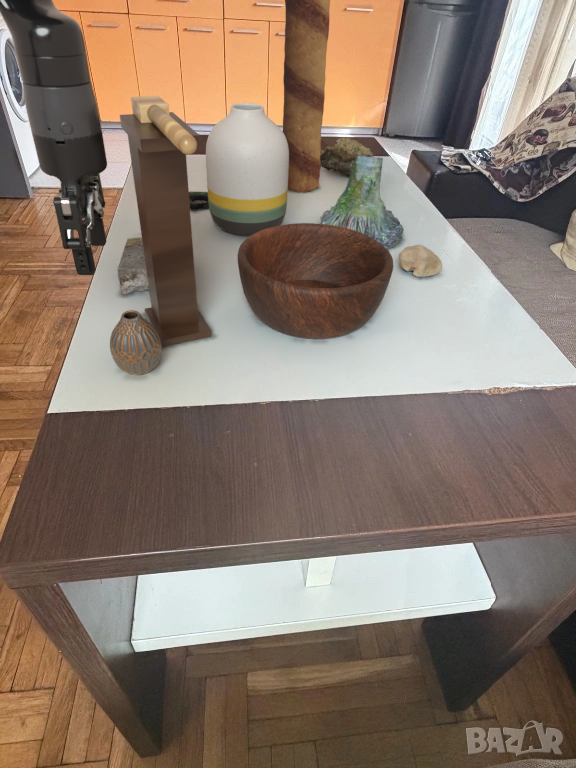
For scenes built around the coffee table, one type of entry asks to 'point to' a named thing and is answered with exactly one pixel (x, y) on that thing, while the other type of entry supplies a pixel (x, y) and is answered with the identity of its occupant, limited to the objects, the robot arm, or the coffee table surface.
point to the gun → (198, 197)
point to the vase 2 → (247, 171)
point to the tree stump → (365, 205)
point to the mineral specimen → (343, 155)
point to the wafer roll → (304, 89)
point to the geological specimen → (133, 267)
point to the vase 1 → (135, 344)
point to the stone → (420, 261)
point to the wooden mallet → (163, 121)
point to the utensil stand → (165, 230)
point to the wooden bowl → (313, 278)
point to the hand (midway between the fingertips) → (92, 258)
